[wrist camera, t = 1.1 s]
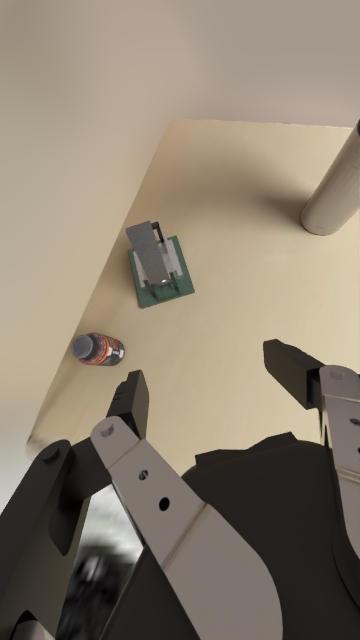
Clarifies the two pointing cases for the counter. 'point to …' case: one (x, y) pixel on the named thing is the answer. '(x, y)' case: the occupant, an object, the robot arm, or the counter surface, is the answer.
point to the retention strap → (148, 253)
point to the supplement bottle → (98, 350)
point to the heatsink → (174, 267)
